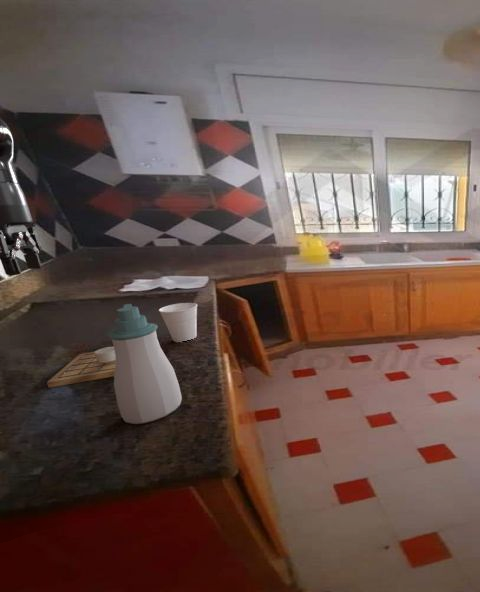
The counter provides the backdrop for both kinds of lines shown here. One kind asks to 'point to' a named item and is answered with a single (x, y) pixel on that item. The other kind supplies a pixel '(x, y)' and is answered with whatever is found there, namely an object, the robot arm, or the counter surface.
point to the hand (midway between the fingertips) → (25, 271)
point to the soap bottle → (141, 370)
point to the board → (82, 371)
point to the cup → (180, 320)
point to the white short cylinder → (105, 355)
